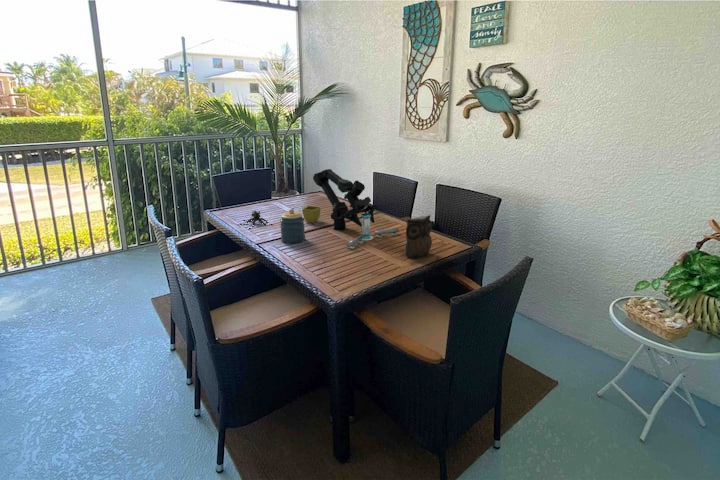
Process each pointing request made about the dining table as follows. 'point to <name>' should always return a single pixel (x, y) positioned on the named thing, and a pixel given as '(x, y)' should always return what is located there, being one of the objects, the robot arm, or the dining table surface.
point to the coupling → (366, 226)
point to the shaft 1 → (357, 240)
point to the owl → (418, 237)
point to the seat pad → (368, 239)
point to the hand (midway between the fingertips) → (367, 224)
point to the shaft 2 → (386, 232)
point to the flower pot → (311, 213)
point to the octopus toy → (256, 217)
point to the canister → (292, 227)
